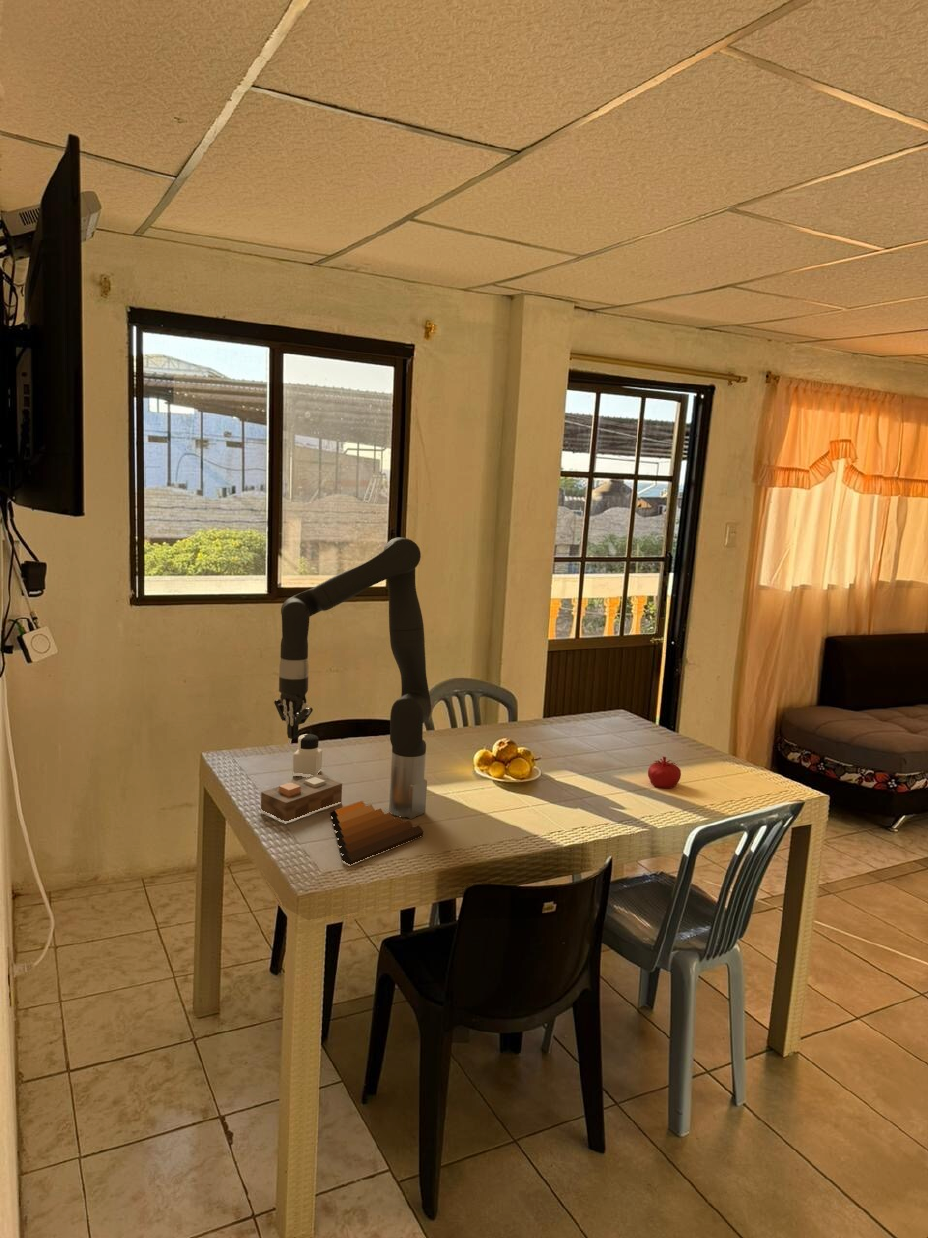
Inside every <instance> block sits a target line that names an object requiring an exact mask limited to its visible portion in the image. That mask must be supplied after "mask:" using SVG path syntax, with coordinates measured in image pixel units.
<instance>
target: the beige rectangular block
mask: <svg viewBox="0 0 928 1238" xmlns="http://www.w3.org/2000/svg"><path fill="white" fill-rule="evenodd" d="M305 785H308V786H311V787H313V788H316V787H319V786H322V785H325V780H322V779H319V778H317V777H314V778H311V779H308V780H305Z"/></svg>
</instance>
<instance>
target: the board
mask: <svg viewBox="0 0 928 1238" xmlns="http://www.w3.org/2000/svg"><path fill="white" fill-rule="evenodd" d="M314 777H317V778H319V779H322V780H325V785H322V786H319V787H316V788H313V787H311V786H308V785H305V780H308V779H311V778H314ZM291 783H294V784H296V785H299V786H301V792H300V793H298V794H295V795H292V796H289V797H288V796H286V795H284V794H281V793H279V786H277V787H273V788H270V789H268V790H264V791H261V792H260V810H261V809H262V810H263V811H265V812H267V813H270V814H272V815H274V816H276V817H277V818H280V819H281V820H284V821H289V820H291V819H294V818H297V817H300V816H302V815H305V814H307V813H309V812H312V811H315V810H318V809H320V808H323V807H326V806H329V805H332V804H335V803H338V802H341V803H342V802H343V801H342V797H343V795H342V794H343V783H341V782H340V781H337V780H334V779H331V778H328V777H326V776H323V775H320V774H319V775H318V774H316V775H313V776H310V777H307V778H304V777H303V778H301V779H298V780H295V781H291Z"/></svg>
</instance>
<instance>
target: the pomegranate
mask: <svg viewBox="0 0 928 1238" xmlns="http://www.w3.org/2000/svg"><path fill="white" fill-rule="evenodd" d="M670 761H671V762H670ZM672 761H673V760H671V759H669V760H667V757H666V756H662V758H659V760H654V762H653V763H651V765H650V766H649V768H648V770H647V776H648V779H649V780H650V781H649V782H650V783H651V784H652V786H653V787H656V788H661V789H671V788H674V787H676V786H677V785H678V783H679V782H680V781H681V780H680V779H681V777H682V772H681V771H682V770H681V769H680V767H679V766H677V765H678V764H676V763H675V762H672Z"/></svg>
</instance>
